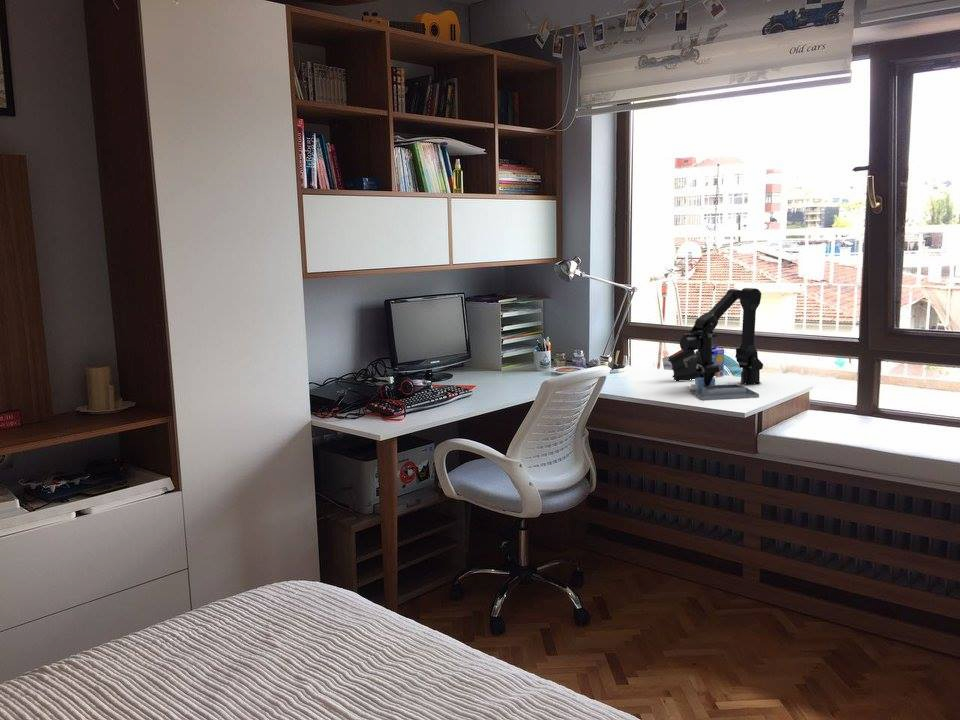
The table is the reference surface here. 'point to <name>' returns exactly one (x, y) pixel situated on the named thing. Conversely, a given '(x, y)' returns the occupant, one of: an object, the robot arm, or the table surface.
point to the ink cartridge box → (718, 359)
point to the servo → (701, 383)
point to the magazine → (682, 366)
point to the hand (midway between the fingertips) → (705, 386)
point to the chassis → (723, 392)
